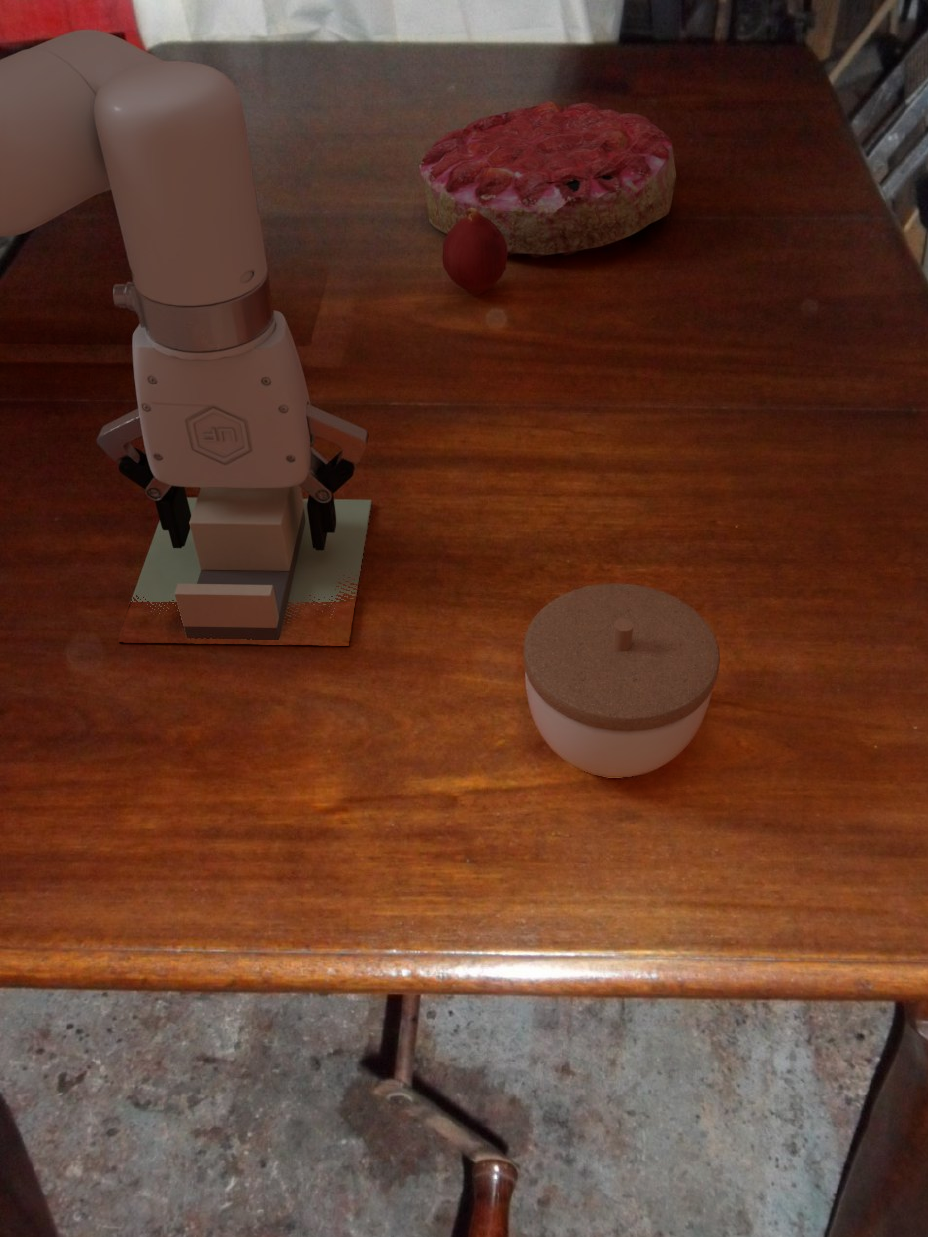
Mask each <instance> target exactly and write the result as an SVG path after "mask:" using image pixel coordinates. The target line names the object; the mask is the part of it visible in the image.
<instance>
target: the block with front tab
mask: <svg viewBox="0 0 928 1237" xmlns="http://www.w3.org/2000/svg"><path fill="white" fill-rule="evenodd" d="M196 498H197V501H196V504H195V507H194V510H193V513H192V516H191V519H190V522H189V524H190V528H191V532H192V536H193V540H194V545H195V549H196V553H197V557H198V561H199V565H200V569H201V572H200V575H199V578H198V582H197V584H178V585H177V588H176V591H175V598H176V601H177V605H178V609H179V612H180V616H181V620H182V623H183V626H184V630H185V634H186V637H187V638H190V639H191V638H195V639H198V638H201V639H203V638H206V639H210V638H212V639H217V638H218V639H247V640H250V639H252V640H279V638H280V635H281V631H282V626H283V622H284V617H285V613H286V608H287V604H288V599H289V594H290V590H291V585H292V581H293V576H294V572H295V567H296V563H297V558H298V554H299V549H300V544H301V540H302V535H303V531H304V526H305V521H306V520H305V513H304V505H303V499H304V498H303V492H302V488H301V487H300V486H299V485H297V486H293V487H288V488H201V487H200V488H199V492H198V495H197V497H196Z"/></svg>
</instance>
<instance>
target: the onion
mask: <svg viewBox="0 0 928 1237" xmlns="http://www.w3.org/2000/svg"><path fill="white" fill-rule="evenodd" d="M465 213H466V214H467V215H466V217H465V218H463V219H461V220H460V221H458V222H457V223H456V224H455V225H454V226H453V227H452V229H451V230H450V231H449V232H448V234H446V236H445V238H444V241H443V244H442V254H441V256H442V257H441V259H442V266H443V269H444V270H445V272H446V274H447V275H448V277H449V278H450V279H451V281H452V282H453V283H455V284H456V285H457V286H459V287H461V288H462V289H464V290H465V291H466V292H467V293H468V294H469V295H471V296H478V295H481V294H482V293H483V292H486V291H487V290H489V289H491V288H492V287H493V286H494V285H495V284H496V283H497V282H498V281H499V280H501V278H502V277H503V275H504V272H505V271H506V267H507V261H508V256H507V255H508V251H507V244H506V241H505V238H504V236H503V235H502V233H501V232H500V230H499V229H498V228H497V227H496V226H495V224H494V223H493V222H492V221H491V220H489V219H488V218H486V217H484V216H483V215H482V214H481V213H480V212H479V211H478V210H477V209H476V208H469V209H467V210H466V211H465Z"/></svg>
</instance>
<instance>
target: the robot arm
mask: <svg viewBox="0 0 928 1237" xmlns="http://www.w3.org/2000/svg"><path fill="white" fill-rule="evenodd" d="M240 96H241V95H240V93H239V91H238V89H237V87H236V85H235V84H234V83H233V81H231V79H230V78H229V77H228V76H227V75H226V74H224V73H223V72H221V71H219V70H218V69H216V68H215V67H212V66H209V65H207V64H204V63H203V64H202V63H198V62H191V61H181V60H164V59H161V58H160V57H157V56H156V55H153V54H152V53H150V52H148V51H145V50H143V49H142V48H140V47H138V46H136V45H135V44H133V43H131V42H129V41H128V40H125V39H123V38H121V37H120V36H119V37H118V36H116V35H114V34H111V33H108V32H105V31H102V30H95V29H79V30H75V31H69V32H67V33H64V34H60V35H59V36H56V37H54V38H53V37H52V38H51V39H49V40H46V41H44V42H42V43H39V44H37V45H34V46H32V47H30V48H25V49H21V50H20V51H18V52H16V53H12V54H10V55H8V56H6V57H4V58H1V59H0V238H5V237H12V236H19V235H22V234H23V235H24V234H26V233H28V232H30V231H32V230H34V229H36V228H38V227H40V226H42V225H44V224H46V223H48V222H50V221H51V220H53V219H55V218H57V217H59V216H61V215H62V214H64V213H66V212H68V211H69V210H71V209H73V208H75V207H76V206H78V205H80V204H82V203H84V202H85V201H87V200H89V199H90V198H92V197H95V196H96V195H99V194H102V193H106V192H108V191H110V190H111V195H112V199H113V203H114V206H115V211H116V215H117V219H118V223H119V227H120V231H121V232H120V233H121V236H122V240H123V244H124V248H125V252H126V257H127V261H128V265H129V268H130V273H131V274H130V275H131V277H132V281H127V282H126V283H120V284H119V283H116V284H115V283H114V285H113V288H112V299H113V304H114V306H115V308H117V309H127V310H129V311H130V312H134V313H135V314H136V316H137V317H138V322H139V324H138V326H137V327H136V328H135V330H134V332H133V333H132V344H131V345H132V346H131V347H132V349H131V350H132V366H133V378H134V385H135V395H136V401H137V408H136V409H134V410H132V411H131V412H128V413H126V414H124V415H122V416H120V417H118V418H116V419H114V420H112V421H110V422H108V423H106V424H104V425H103V426H102V427H101V428H100V430H99V433H98V435H97V437H96V444H97V446H99V448H100V449H101V450H102V451H103V452H104V453H105V455H107V457H108V458H109V459H110V460H111V461H112V462H113V463H115V464H117V466H118V471H119V472H120V474H122V475H123V476H124V477H126V478H127V479H128V480H131V481H132V482H133V483H134V484H136V485H137V486H139V487H140V488H142V489H143V490H144V494H145V496H146V498H148V499H149V500H150V501H154V503H155V507H156V510H157V515H158V518H159V521H160V522H161V526H162V529H163V530H168V531H169V535H170V539H171V543H172V546H173V548H182V546H185V543H186V540H187V537H188V534H189V531H190V524H189V522H190V519H191V512H190V508H189V504H188V500H187V498H188V496H187V492H186V488H200V489H201V488H288V487H293V486H297V485H299V486H300V487H301V490H302V491H304V492H306V493H307V494H308V498H307V499H308V502H307V511H308V518H309V525H310V532H311V538H312V545H313V548H316V550H324V548H325V543H326V537H327V533H334V532H335V528H336V512H335V504H334V499H335V497H334V496H335V495H334V494H335V493H336V492H337V491H338V490H340V488H342V486H344V485H345V484H346V483H347V482H348V481H349V480H350V479H351V478H353V476H354V473H355V471H356V469H357V466H358V465H359V463H360V462H361V460H362V458H363V456H364V454H365V453H366V450H367V448H368V444H369V439H370V438H369V437H370V434H369V431H368V430H367V429H365V428H363V427H361V426H359V425H357V424H355V423H352V422H350V421H348V420H345V419H344V418H341V417H338V416H337V415H334V414H332V413H329V412H327V411H325V410H323V409H320V408H318V407H316V406H313V405H312V404H311V400H310V395H309V391H308V386H307V382H306V377H305V373H304V370H303V367H302V366H303V365H302V363H301V360H300V356H299V353H298V350H297V347H296V344H295V341H294V337H293V335H292V332H291V330H290V327H289V325H288V322H287V320H286V317H285V316H284V314H283V313H282V312H281V311H279V310H275V309H274V303H273V297H272V296H273V295H272V290H271V284H270V276H269V270H268V264H267V257H266V251H265V245H264V244H265V243H264V236H263V230H262V224H261V223H262V222H261V217H260V210H259V206H258V204H259V203H258V198H257V192H256V191H257V190H256V184H255V178H254V171H253V164H252V158H251V151H250V145H249V144H250V143H249V138H248V130H247V124H246V117H245V112H244V109H243V107H244V106H243V104H242V103H243V102H242V100H241V97H240ZM140 437H142V440H143V445H144V451H145V452H144V451H142V450H140V449H139V448H137V447H135V446H133V443H132V441H134V440H137V439H138V438H140ZM316 438H317V439H320V440H323V441H325V442H327V443H329V444H332V445H334V446H336V447H339V448H340V451H339V452H338V453H336V454H335V456H333V457H332V458H331V459H330V460H327V458H326V457H324V456H323V455H322V454H321V453H320V452H319V451H318V450H317V449H315V447H313V446H314V445H315V440H316Z"/></svg>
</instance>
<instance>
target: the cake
mask: <svg viewBox="0 0 928 1237" xmlns="http://www.w3.org/2000/svg"><path fill="white" fill-rule="evenodd" d="M418 166H419V170H420V175H421V178H422V184H423V188H424V189H423V190H424V193H425V199H426V206H427V214H428V223H430V224H431V225H432V226H433V227H434V228H435V229H437V230H439V231H440V232H442V233H444V234H446V235H447V234H448V232H449V231H450V230H451V229H452V227H453V226H454V225H455V224H456V223H457V222H458V221H460V220H461V219H463V218H465V217H466V215H467V214H466V213H465V211H466V210H467V209H469V208H476V209H477V210H478V211H479V212H480V213H481V214H482V215H483V216H484V217H486V218H488V219H489V220H491V221H492V222H493V223H494V224H495V226H496V227H497V228H498V229H499V230H500V232H501V233H502V235H503V236H504V238H505V241H506V244H507V251H508V255H507V257H509V256H514V255H521V254H524V255H526V256H528V257H529V258H531V259H536V258H540V257H544V256H549V255H554V256H558V257H562V258H565V257H567V256H570V255H573V254H575V253H578V252H581V251H583V250H589V249H594V248H601V247H603V246H607V245H610V244H612V243H615V242H618V241H621V240H622V239H626V238H628V237H631V236H633V235H635V234H636V233H638V232H640V231H642V230H644V228H646V227H647V226H649V225H651V224H652V223H655V222H657V221H659V220H660V219H662V218H664V217H665V216H667V215H669V213H670V210H671V207H672V201H673V196H674V190H675V184H676V179H677V172H676V163H675V156H674V149H673V142H672V139H671V138H670V137H669V136H668V135H667V134H666V133H665V132H664V130H662V129H660V128H659V127H657V126H656V125H654V124H653V123H652V122H651V121H650V120H649V119H648V118H647V117H646V116H644V115H641V114H638V113H629V112H627V113H622V112H619V111H616V110H613V109H610V108H608V109H601V108H600V107H599V106H598V105H596V104H594V103H590V102H580V103H574V104H570V105H566V106H563V107H562V106H560V105H559V104H557V102H555V101H543V102H541V103H540V104H539V105H535V106H530V107H525V108H523V107H522V108H521V107H520V108H516V109H514V110H510V111H507V112H502V113H498V114H493V115H489V116H484V117H479V118H478V119H476V120H474V121H473V122H470V123H469V124H467V125H466V126H465V128H457V129H456V128H455V129H453V130H451V131H449V132H446V134H444V135H443V136H442V137H440V138H439V139H438V140H437V141H435V142H434V143H433V145H432V147H431V148H429V150H428V151H427V153H426V154H425V155H424V157H423V158H422V160H421V161H420V163H419V164H418Z"/></svg>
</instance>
